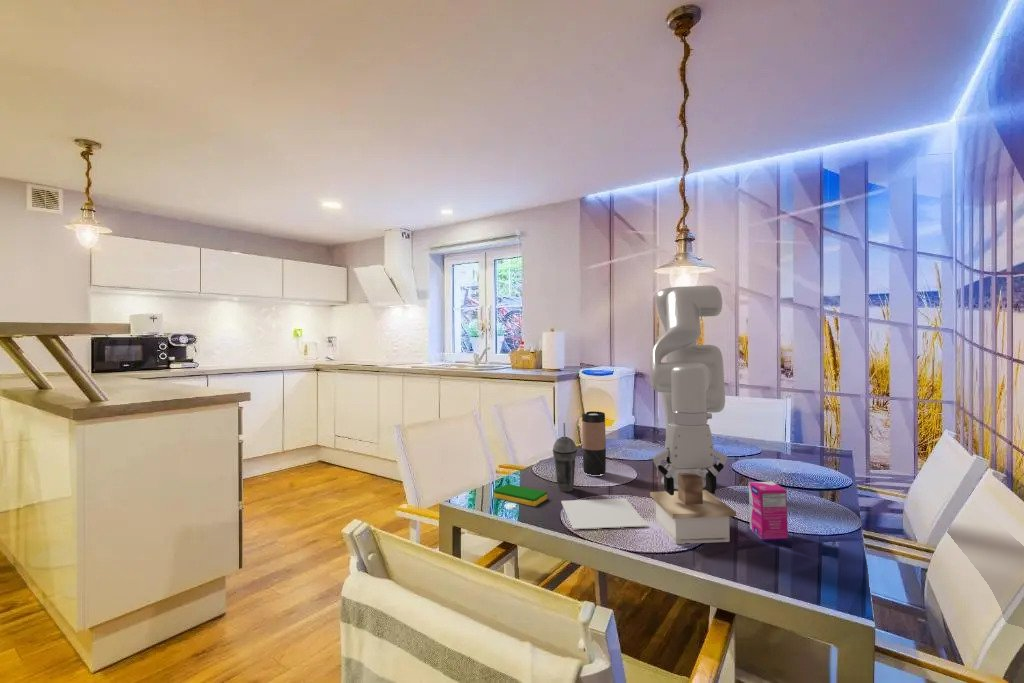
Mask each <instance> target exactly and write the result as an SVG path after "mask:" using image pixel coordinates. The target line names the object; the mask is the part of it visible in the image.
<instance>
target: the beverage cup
mask: <svg viewBox="0 0 1024 683" xmlns="http://www.w3.org/2000/svg"><path fill="white" fill-rule="evenodd" d="M552 452H553V453H552V454H553V458H554V465H555V466H554V467H555V473H556V484H557V489H558V491H560V492H572V491H573V490H574V483H575V469H576V458H577V452H578V449H577V445H576V443H575V441H574V440H573V439H572V438H570V437H567V436H566V422H563V436H561V437H559V438H557V439H556V441H555V442H554V444H553V447H552Z"/></svg>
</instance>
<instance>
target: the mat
mask: <svg viewBox="0 0 1024 683" xmlns="http://www.w3.org/2000/svg"><path fill="white" fill-rule="evenodd" d="M560 503H561V505H562V507H563V510H564V512H565V514H567V515H566V517H567V516H568V517H567V519H569V520H568V522H569V521H570V522H569V524H570V523H571V524H570V526H571V525H572V527H571V529H572V528H573V529H594V528H619V527H645V528H649V524H648V523H647V522H646V521H645V520H644V518H643V517H642V516H641V515H640V514H639V512H638V511H637V510H636V509H635V508H634V507H633V505H632V504H631V503H630V502H629V500H628V499H627V498H626V497H625V498H623V497H622V498H602V499H600V498H599V499H598V498H597V499H575V500H574V499H573V500H571V499H570V500H561V502H560ZM573 529H572V530H573Z"/></svg>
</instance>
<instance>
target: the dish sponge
mask: <svg viewBox="0 0 1024 683" xmlns="http://www.w3.org/2000/svg"><path fill="white" fill-rule="evenodd" d="M493 498H495V499H499V500H504V501H508V502H511V503H512V502H513V503H517V504H521V505H527V506H529V507H536V506H538V505H539V504H541V503H543V502H545V501H546V500H548V491H545V490H540V489H535V488H529V487H525V486H519V485H515V484H510V483H507V484H504V485H502V486H500V487H499V488H496V489H494V490H493Z"/></svg>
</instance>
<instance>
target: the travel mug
mask: <svg viewBox="0 0 1024 683" xmlns="http://www.w3.org/2000/svg"><path fill="white" fill-rule="evenodd" d="M581 417H582V418H581V420H582V421H581V422H582V423H581V425H582V426H581V428H582V429H581V430H582V431H581V434H582V436H581V437H582V439H581V441H582V444H581V445H582V447H581V448H582V463H583V464H582V465H583V468H582V469H583V473H584V472H585V473H587V474H591V475H600V474H604V473H605V472H606V470H607V469H606V467H607V466H606V459H607V458H606V457H607V456H606V455H607V446H606V445H607V443H606V442H607V441H606V414H605V412H602V411H594V410H593V411H587V412H586V413H583V412H582V413H581ZM606 473H607V472H606ZM606 473H605V474H606Z"/></svg>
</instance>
